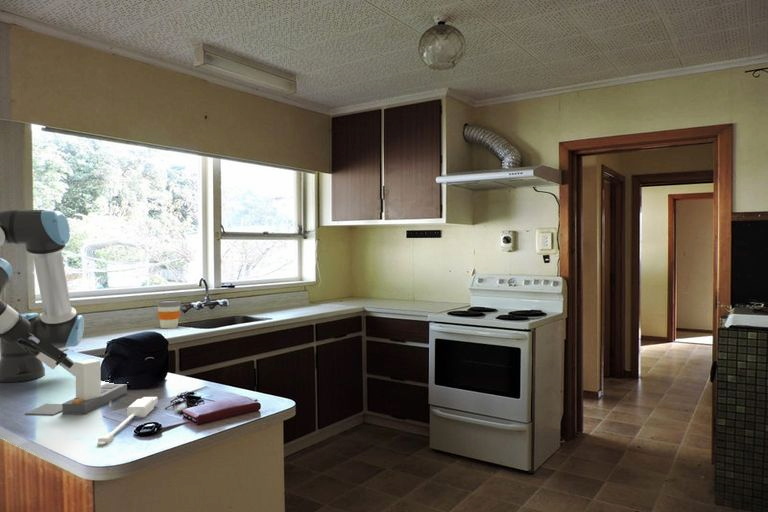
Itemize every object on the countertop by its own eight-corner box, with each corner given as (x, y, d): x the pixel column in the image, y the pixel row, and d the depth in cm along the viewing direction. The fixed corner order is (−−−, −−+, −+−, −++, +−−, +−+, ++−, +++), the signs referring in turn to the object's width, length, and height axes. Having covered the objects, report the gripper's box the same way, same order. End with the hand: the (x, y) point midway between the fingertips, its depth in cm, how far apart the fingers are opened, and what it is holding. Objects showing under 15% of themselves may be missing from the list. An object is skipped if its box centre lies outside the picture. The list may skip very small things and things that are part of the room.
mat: (46, 404, 167) (46, 403, 167) (74, 405, 166) (74, 404, 166) (24, 414, 158) (24, 413, 158) (54, 415, 157) (54, 414, 157)
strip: (120, 385, 188) (120, 375, 188) (139, 386, 188) (139, 375, 187) (62, 413, 158) (62, 401, 158) (85, 414, 158) (84, 402, 158)
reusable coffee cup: (176, 324, 317) (176, 299, 316) (184, 327, 307) (183, 301, 307) (154, 326, 309) (153, 300, 308) (161, 329, 299) (161, 302, 299)
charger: (75, 397, 164) (75, 361, 164) (92, 393, 168) (92, 358, 168) (84, 400, 161) (83, 364, 161) (101, 396, 166) (100, 360, 165)
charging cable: (90, 450, 134) (89, 437, 134) (142, 404, 167) (142, 394, 166) (111, 450, 135) (110, 437, 134) (159, 404, 167) (158, 394, 167)
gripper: (-22, 330, 151) (38, 373, 164) (16, 340, 137) (78, 386, 149) (0, 310, 155) (56, 353, 168) (39, 317, 141) (97, 364, 154)
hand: (67, 368), depth 159 cm, fingers open, 13 cm apart
